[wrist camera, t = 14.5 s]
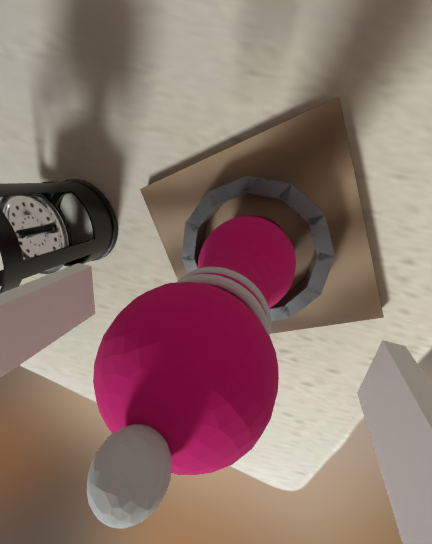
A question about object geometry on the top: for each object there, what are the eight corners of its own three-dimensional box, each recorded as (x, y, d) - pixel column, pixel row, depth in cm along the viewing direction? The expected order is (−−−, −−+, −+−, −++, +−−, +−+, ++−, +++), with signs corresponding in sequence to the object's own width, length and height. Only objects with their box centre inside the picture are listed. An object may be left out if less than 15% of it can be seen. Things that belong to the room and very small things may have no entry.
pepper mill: (241, 296, 25) (103, 610, 7) (203, 235, 24) (-84, 414, 6) (310, 265, 22) (392, 683, 4) (269, 193, 20) (104, 287, 3)
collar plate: (146, 188, 25) (139, 189, 24) (336, 101, 18) (339, 95, 17) (207, 337, 29) (204, 343, 28) (379, 310, 22) (383, 317, 21)
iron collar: (174, 207, 23) (161, 210, 21) (307, 153, 19) (309, 149, 17) (217, 318, 26) (210, 331, 24) (342, 295, 22) (348, 309, 20)
